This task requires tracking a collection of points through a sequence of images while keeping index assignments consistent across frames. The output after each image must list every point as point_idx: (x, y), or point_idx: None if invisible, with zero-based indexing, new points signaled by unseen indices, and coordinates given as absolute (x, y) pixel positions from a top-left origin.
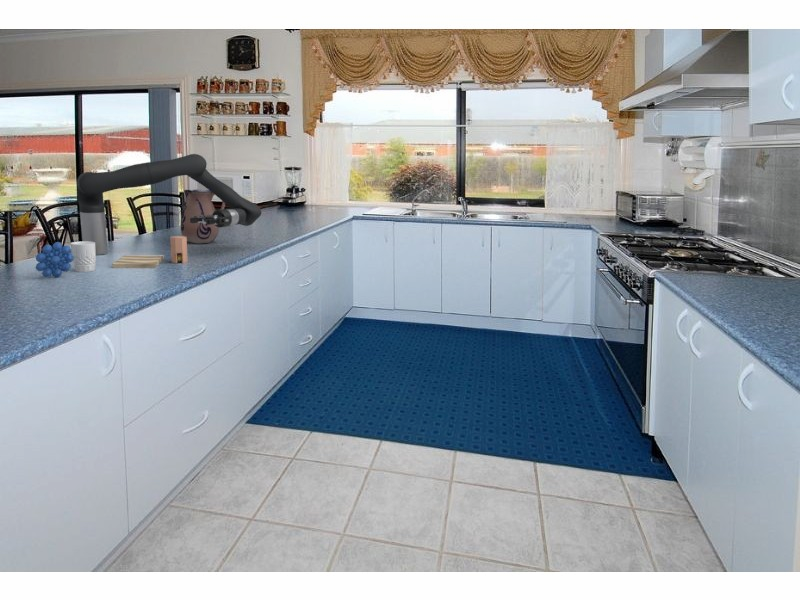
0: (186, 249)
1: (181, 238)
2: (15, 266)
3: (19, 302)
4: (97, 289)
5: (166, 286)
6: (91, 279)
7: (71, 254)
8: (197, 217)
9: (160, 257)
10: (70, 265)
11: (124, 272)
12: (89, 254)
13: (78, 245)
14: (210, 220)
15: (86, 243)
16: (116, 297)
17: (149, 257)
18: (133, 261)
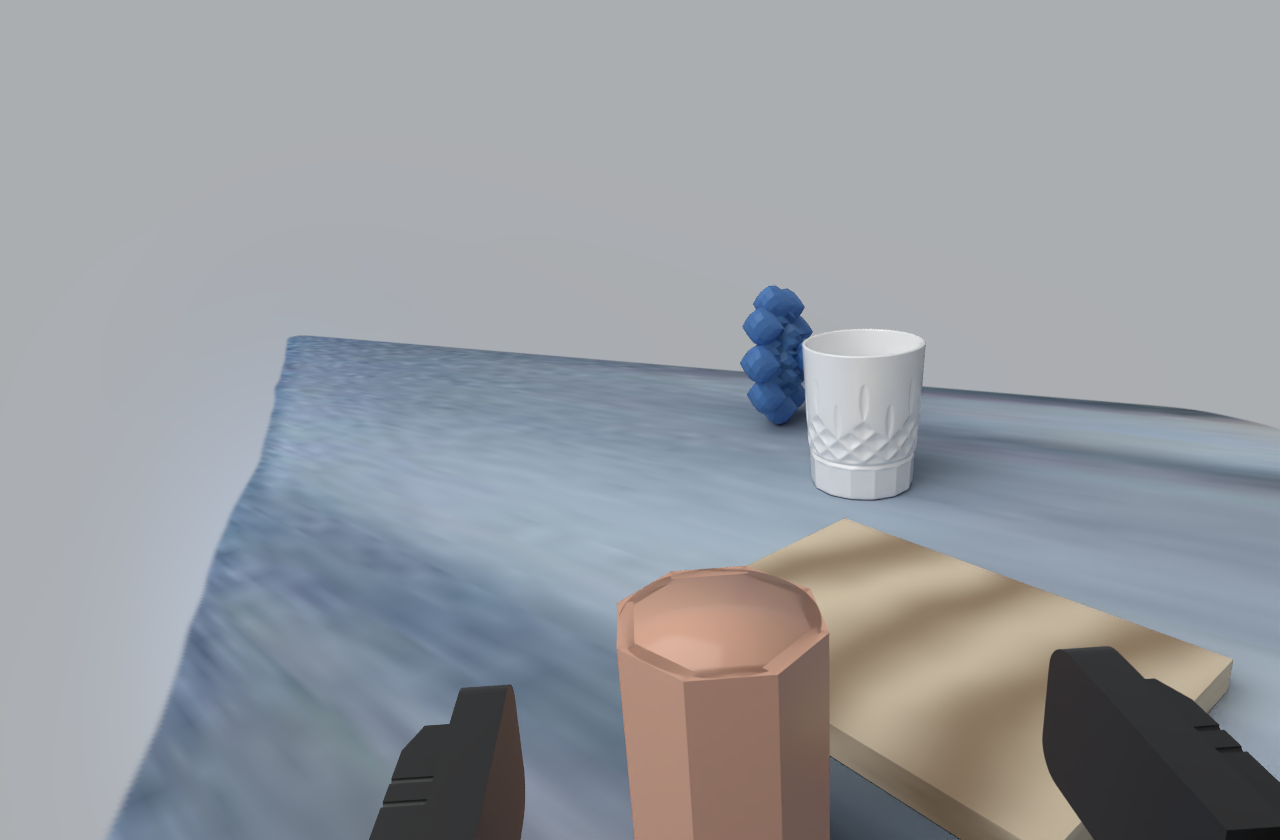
0: (629, 780)
1: (621, 607)
2: (1148, 415)
3: (540, 362)
4: (483, 427)
5: (267, 506)
6: (642, 451)
7: (750, 350)
8: (1218, 827)
9: (903, 759)
10: (760, 396)
11: (668, 528)
12: (805, 397)
13: (822, 338)
14: (404, 754)
15: (907, 361)
16: (350, 423)
17: (967, 709)
18: (844, 587)
